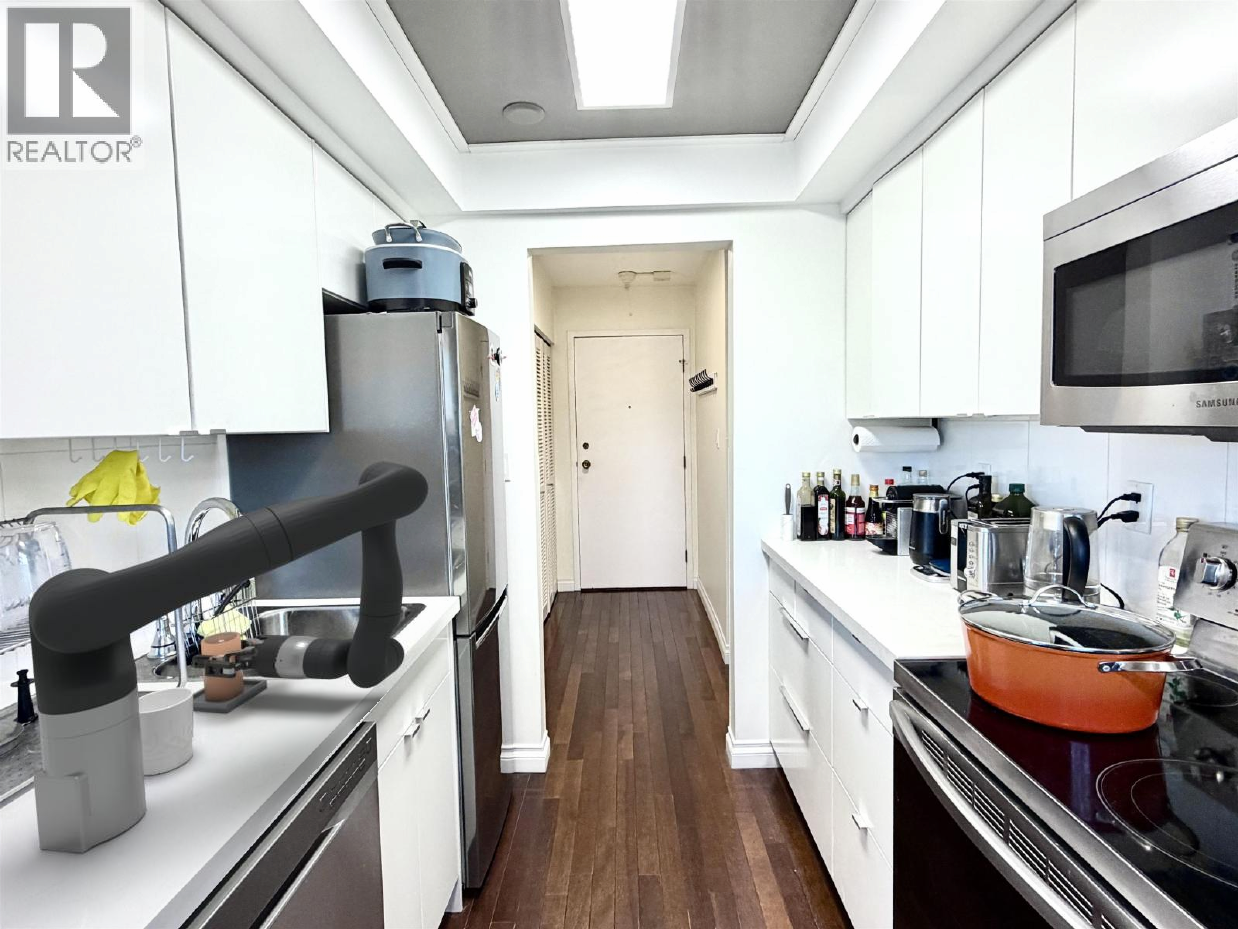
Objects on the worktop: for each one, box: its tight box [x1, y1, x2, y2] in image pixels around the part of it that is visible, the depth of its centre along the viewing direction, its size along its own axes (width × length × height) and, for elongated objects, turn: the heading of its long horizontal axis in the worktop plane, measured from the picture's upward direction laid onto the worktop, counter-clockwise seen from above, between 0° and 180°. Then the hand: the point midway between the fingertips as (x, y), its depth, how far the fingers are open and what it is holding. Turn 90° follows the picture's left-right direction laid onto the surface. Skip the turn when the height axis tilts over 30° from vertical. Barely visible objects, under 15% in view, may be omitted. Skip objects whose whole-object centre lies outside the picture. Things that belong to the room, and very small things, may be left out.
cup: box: [200, 631, 244, 702], centre depth 105 cm, size 6×6×11 cm
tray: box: [193, 678, 268, 714], centre depth 105 cm, size 10×10×2 cm
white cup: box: [138, 687, 194, 776], centre depth 85 cm, size 8×8×10 cm
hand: (211, 653), depth 105 cm, fingers open, 6 cm apart
